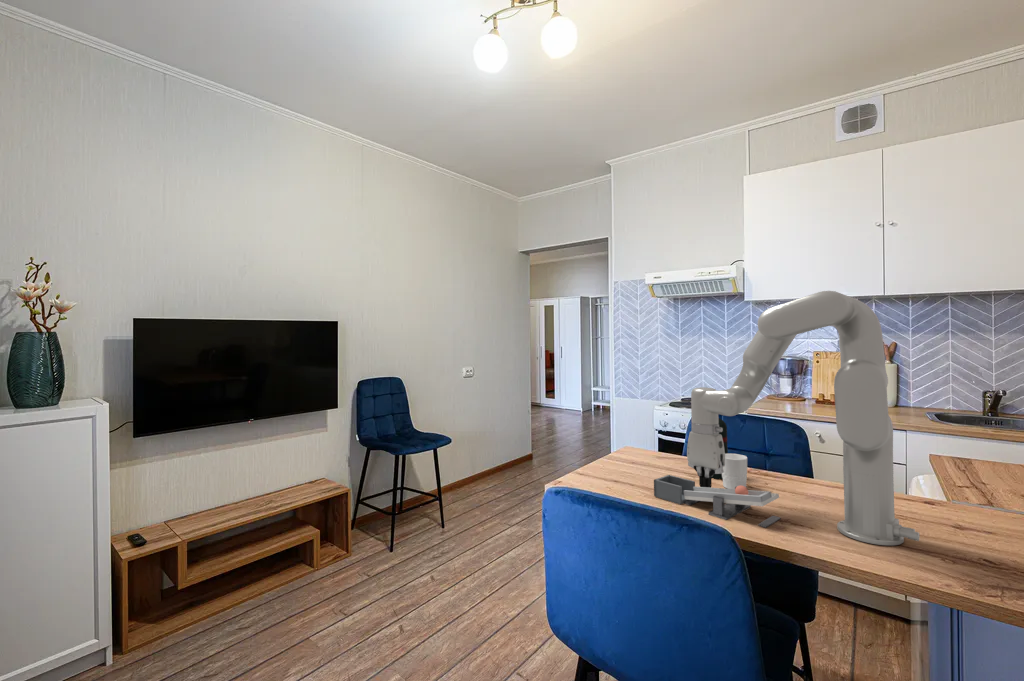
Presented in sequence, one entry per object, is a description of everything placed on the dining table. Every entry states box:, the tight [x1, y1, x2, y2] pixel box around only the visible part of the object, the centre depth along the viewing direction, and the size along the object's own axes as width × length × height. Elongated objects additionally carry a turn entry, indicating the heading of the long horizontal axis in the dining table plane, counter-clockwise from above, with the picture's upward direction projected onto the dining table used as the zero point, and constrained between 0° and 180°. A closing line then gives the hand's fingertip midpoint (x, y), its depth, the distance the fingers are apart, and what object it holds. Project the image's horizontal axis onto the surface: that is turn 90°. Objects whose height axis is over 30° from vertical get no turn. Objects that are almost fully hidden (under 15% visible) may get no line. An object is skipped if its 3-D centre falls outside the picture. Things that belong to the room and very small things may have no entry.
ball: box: [735, 485, 749, 495], centre depth 120 cm, size 3×3×3 cm
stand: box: [683, 486, 782, 529], centre depth 125 cm, size 23×14×5 cm, turn 37°
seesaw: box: [684, 486, 780, 507], centre depth 125 cm, size 22×10×2 cm, turn 37°
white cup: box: [722, 453, 748, 489], centre depth 145 cm, size 8×8×10 cm
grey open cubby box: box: [653, 474, 696, 506], centre depth 136 cm, size 9×8×5 cm
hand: (705, 489), depth 134 cm, fingers closed
